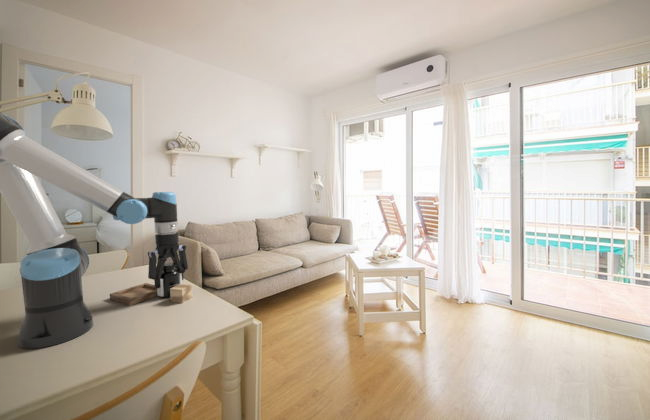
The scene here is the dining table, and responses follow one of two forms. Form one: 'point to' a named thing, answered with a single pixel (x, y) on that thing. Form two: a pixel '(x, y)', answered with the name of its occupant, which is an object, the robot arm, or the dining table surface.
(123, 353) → the dining table surface
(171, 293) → the oak block
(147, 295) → the walnut tray
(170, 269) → the supplement bottle
